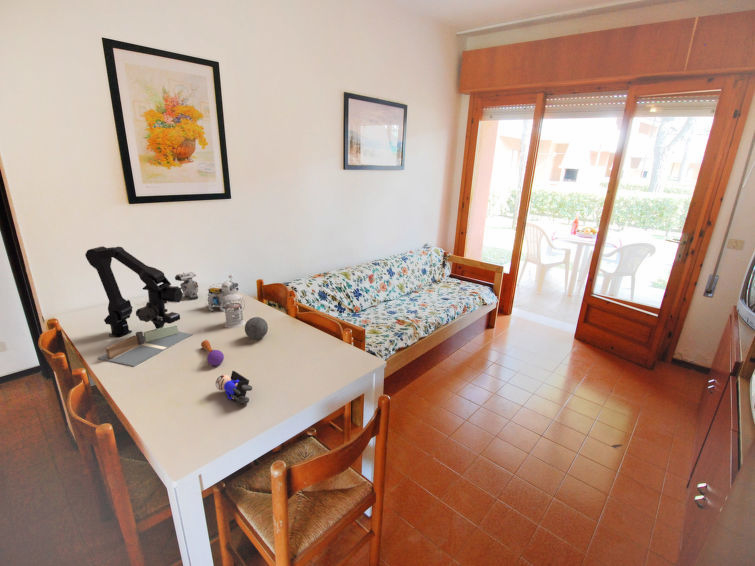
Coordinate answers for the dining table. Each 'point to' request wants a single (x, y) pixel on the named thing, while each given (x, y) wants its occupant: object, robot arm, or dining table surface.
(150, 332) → the swing panel
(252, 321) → the decorative ball
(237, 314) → the french press
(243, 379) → the character figurine
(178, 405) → the dining table surface
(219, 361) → the kendama
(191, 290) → the figurine
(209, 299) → the robotic toy
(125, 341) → the brown wooden bar
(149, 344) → the card
